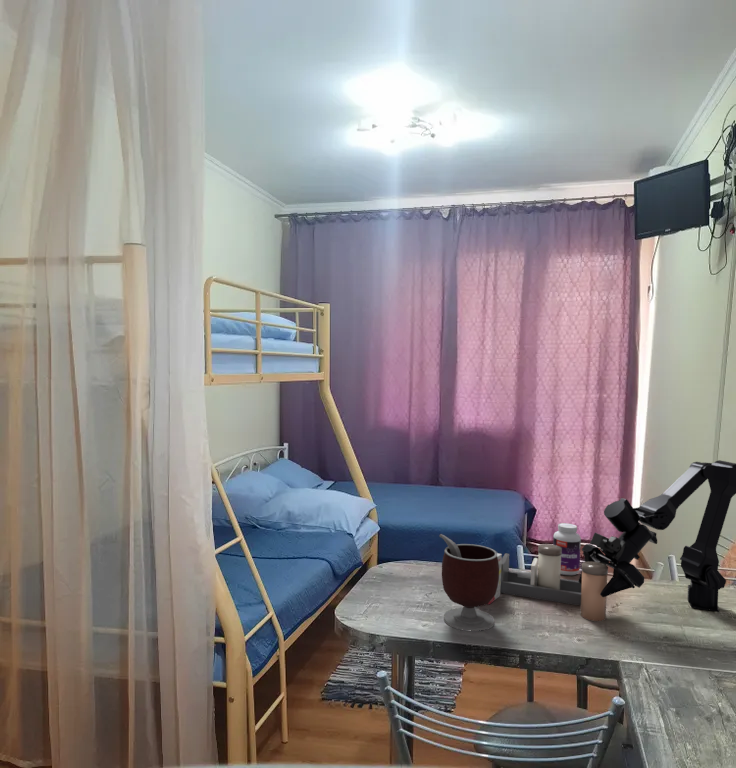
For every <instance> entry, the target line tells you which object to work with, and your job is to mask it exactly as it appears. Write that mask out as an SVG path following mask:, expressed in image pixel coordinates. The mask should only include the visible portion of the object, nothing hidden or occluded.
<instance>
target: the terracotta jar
mask: <svg viewBox="0 0 736 768" xmlns="http://www.w3.org/2000/svg"><path fill="white" fill-rule="evenodd" d="M581 572H582V587H581V606H580V616H581V617H582V618H583V619H585V620H589V621H593V622H603V621H605V620H606V617H607V596H606V597H602V596H601V595H600V593H601V592H602V590H603V589H604V587H605V586H606V585H607V583H608V573H609V566H607V565H605V564H603V563H599V562H591V561H589V562H585V561H583V562H582V563H581ZM602 620H603V621H602Z"/></svg>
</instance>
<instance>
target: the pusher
mask: <svg viewBox="0 0 736 768" xmlns="http://www.w3.org/2000/svg"><path fill="white" fill-rule="evenodd" d="M516 572H517V577H521V578H528V579H531V583H530V585H533V586H537V575H538V558H537V557H534V558H533V560H532V563H531V565H530V571H525V570H517V571H516Z"/></svg>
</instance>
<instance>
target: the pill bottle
mask: <svg viewBox="0 0 736 768" xmlns="http://www.w3.org/2000/svg"><path fill="white" fill-rule="evenodd" d="M557 529H558V530H557V531H555V532H554V533H553V538H552V539H553V540H552V541H553V542H552V544H553V545H557V546H560V547H561V548H562V554H561V574H560V575H563V576H575V575H577V574H579V573H580V571H581V570H580V566H581V547H582V546H581V545H582V544H581V543H582V537H581V535H580V534H579V533H578V526H577V525H575V524H572V523H566V522H565V523H561V522H560V523H558V525H557Z"/></svg>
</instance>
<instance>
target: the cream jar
mask: <svg viewBox="0 0 736 768" xmlns="http://www.w3.org/2000/svg"><path fill="white" fill-rule="evenodd" d="M537 551H538V555H537V556H538V585H537V586H540V587H546V588H553V589H559V590H560V578H561V575H562V574H561V554H562V548H561V547H560V546H557V545H553V543H552V544H551V543H542V544H541V543H540V544H538V549H537Z"/></svg>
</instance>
